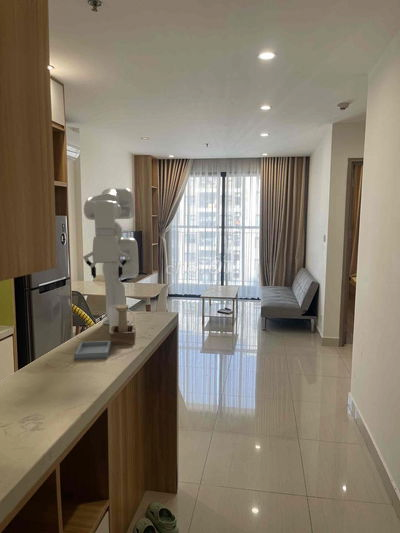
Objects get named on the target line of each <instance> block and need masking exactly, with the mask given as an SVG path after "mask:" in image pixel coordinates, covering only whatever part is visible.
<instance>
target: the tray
mask: <svg viewBox="0 0 400 533" xmlns="http://www.w3.org/2000/svg"><path fill="white" fill-rule="evenodd" d="M111 350H112V345H111V341H110V340H98V341H97V340H96V341H94V340H93V341H81V342H79V345H78V347H77V348H76V350H75V352H74V354H73V355H74V361H92V360H108V358H109V355H110V352H111Z"/></svg>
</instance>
